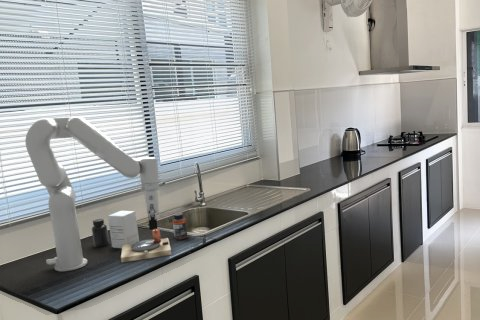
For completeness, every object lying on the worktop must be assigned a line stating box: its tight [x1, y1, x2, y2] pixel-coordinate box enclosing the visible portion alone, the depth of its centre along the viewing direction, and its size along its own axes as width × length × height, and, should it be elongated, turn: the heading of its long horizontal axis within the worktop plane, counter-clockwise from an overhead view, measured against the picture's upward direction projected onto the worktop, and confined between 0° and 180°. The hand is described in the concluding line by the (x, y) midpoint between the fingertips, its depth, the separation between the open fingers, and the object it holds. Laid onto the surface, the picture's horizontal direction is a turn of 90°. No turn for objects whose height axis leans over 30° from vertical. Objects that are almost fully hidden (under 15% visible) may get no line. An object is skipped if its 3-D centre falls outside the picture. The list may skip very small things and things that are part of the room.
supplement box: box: [107, 210, 140, 249], centre depth 202 cm, size 9×9×15 cm
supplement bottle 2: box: [172, 212, 188, 240], centre depth 205 cm, size 6×6×11 cm
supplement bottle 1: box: [91, 218, 110, 248], centre depth 205 cm, size 7×7×12 cm
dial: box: [131, 228, 162, 251], centre depth 189 cm, size 13×12×7 cm
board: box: [120, 237, 172, 263], centre depth 190 cm, size 20×18×3 cm
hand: (153, 226), depth 189 cm, fingers open, 9 cm apart
